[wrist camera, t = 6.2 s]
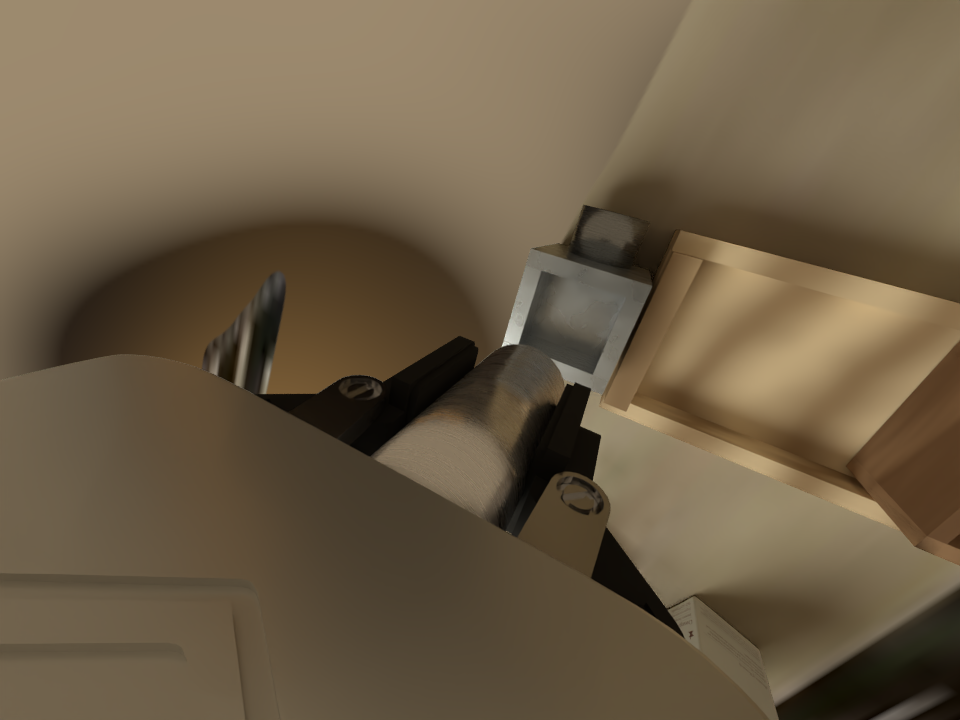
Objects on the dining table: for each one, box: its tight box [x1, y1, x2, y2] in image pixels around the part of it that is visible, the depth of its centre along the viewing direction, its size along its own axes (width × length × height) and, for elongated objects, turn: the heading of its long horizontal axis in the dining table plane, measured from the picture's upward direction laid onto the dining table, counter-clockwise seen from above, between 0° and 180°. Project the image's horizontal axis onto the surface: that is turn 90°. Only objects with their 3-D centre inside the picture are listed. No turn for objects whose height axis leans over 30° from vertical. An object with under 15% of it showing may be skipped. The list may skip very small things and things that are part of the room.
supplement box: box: [668, 596, 779, 720], centre depth 29 cm, size 7×7×13 cm
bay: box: [599, 230, 960, 531], centre depth 21 cm, size 28×13×5 cm, turn 75°
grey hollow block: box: [502, 205, 652, 395], centre depth 24 cm, size 7×10×8 cm
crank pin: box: [370, 344, 565, 531], centre depth 10 cm, size 3×3×8 cm
